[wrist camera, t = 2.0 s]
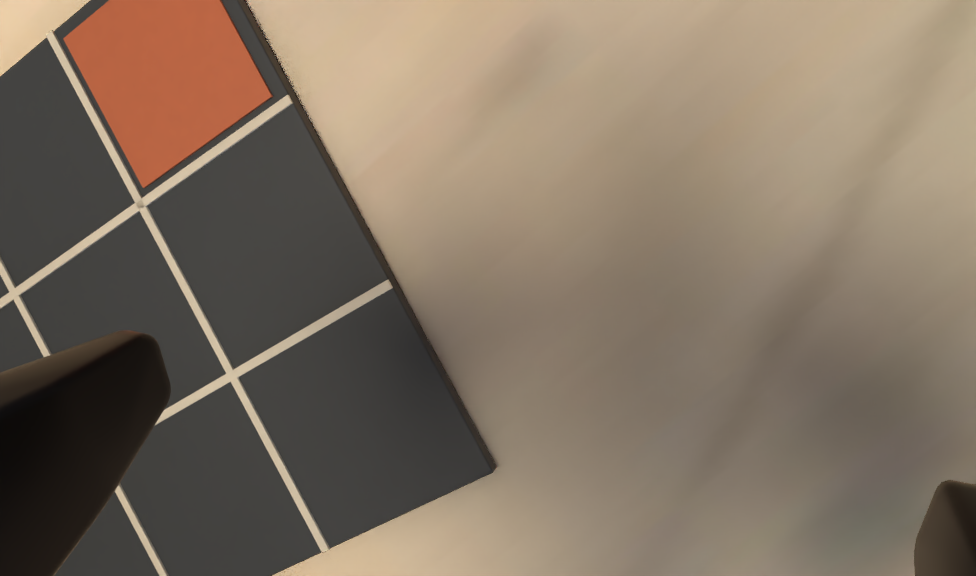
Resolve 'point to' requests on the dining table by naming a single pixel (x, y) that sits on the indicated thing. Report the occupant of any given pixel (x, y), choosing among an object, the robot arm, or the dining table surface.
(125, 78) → the grid
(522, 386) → the dining table surface
